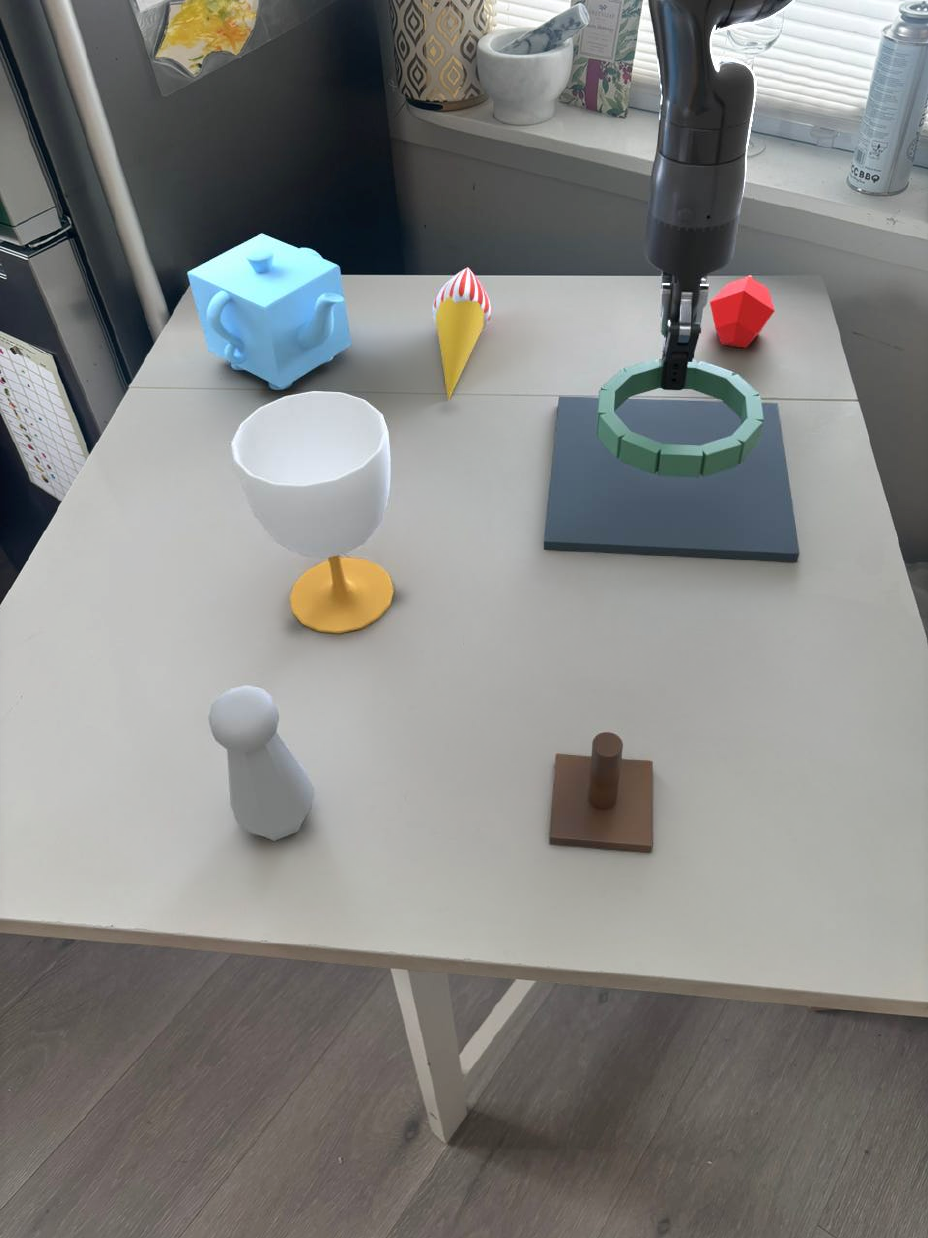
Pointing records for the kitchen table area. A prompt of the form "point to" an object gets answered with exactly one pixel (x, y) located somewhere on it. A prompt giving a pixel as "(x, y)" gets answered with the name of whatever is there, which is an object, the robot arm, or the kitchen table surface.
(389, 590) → the cup
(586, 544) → the mat
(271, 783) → the white game pawn
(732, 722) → the kitchen table surface
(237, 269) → the teapot
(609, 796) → the ring toss
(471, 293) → the ice cream cone
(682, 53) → the robot arm
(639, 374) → the ring
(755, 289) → the red faceted gem
